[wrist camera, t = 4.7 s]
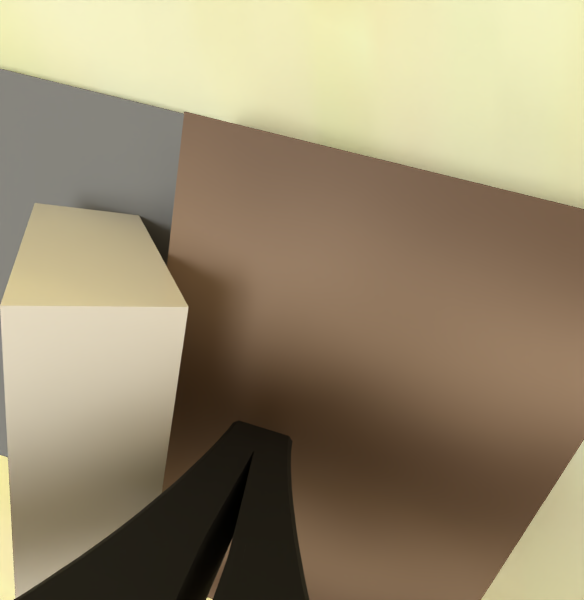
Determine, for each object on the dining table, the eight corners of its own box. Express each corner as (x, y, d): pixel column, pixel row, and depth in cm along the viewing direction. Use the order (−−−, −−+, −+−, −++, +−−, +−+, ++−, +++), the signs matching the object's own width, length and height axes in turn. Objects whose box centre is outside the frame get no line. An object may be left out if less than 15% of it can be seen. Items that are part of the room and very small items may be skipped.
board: (418, 578, 15) (432, 675, 12) (173, 497, 15) (132, 570, 13) (609, 218, 10) (711, 240, 7) (231, 125, 10) (184, 111, 8)
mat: (162, 493, 15) (154, 506, 15) (-100, 407, 16) (-116, 416, 16) (214, 121, 10) (206, 119, 10) (-168, 28, 11) (-196, 21, 11)
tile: (145, 605, 9) (18, 651, 8) (120, 431, 14) (38, 443, 13) (188, 307, 6) (-1, 306, 5) (139, 215, 11) (34, 203, 10)
